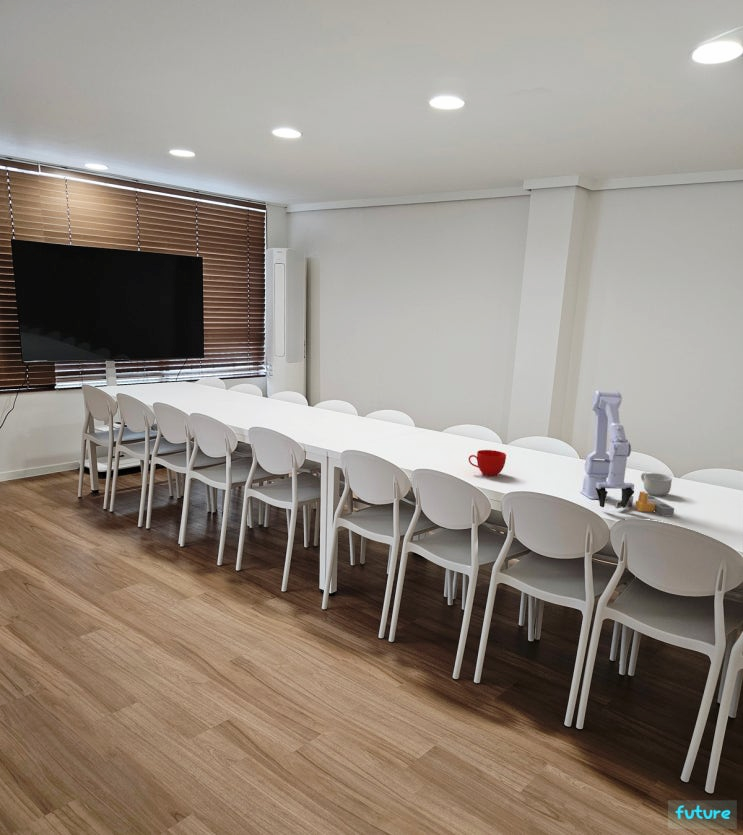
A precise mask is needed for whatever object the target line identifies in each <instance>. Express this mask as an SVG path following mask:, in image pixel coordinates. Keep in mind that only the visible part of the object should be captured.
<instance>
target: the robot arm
mask: <svg viewBox="0 0 743 835" xmlns="http://www.w3.org/2000/svg"><path fill="white" fill-rule="evenodd" d="M622 398H623V397H622V394H621V392H620V391H608V390H595V391H594V392H593V395H592V401H591V410H592V411H594V412H595V418H594V437H593V438H594V439H593V451H592V452H591V453H589V454H588V455H587V456H586V457H585V458H586V459H585V462H584V471H585V476H584V477H583V483H582V490H580V491H579V492H580V493H581V494H583V495H584V496H586V497H587V498H588V499H590V500H598V501H599V506H600V507H601V508H605V505H606V504H605V503H606V500H609V497H608V496H607V495H608V491H607V490H606V489H613V490H615V489H619V490H620V489H621V500H620V501H621V506H622V507H621V508H626V507H627V506H628V505H627V502H628V500H629V499H630V497H631V496H633V495H634V493H635V490H634V489H635V484H634V483H632V482H625V476H626V467H627V460H628V458H629V457H630V455H631V452H632V445H631V443H630V441H629V440H628V439H627V438H626V437H627V436H626V433H625V429H624V428H625V427H624V426H623V425H622V424H621V423H620V414H619V413H620V412H619V409H620V407H621V403H622ZM608 425H609V426H608ZM608 438H609V447H608V450H609V451H608V452H609V453H607V444H608ZM626 505H627V506H626Z"/></svg>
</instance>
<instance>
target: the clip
mask: <svg viewBox="0 0 743 835" xmlns="http://www.w3.org/2000/svg"><path fill="white" fill-rule="evenodd" d="M633 503H634V496H633V495H632V496H631V497H630V499H629V500H628V502H627V505H626V507H627V506H628V507H630V508H632V507H633V505H634V504H633ZM614 508H615V509H620V508H623V507H622V506H621V500H619V501H616V502H615V506H614Z"/></svg>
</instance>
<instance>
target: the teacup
mask: <svg viewBox="0 0 743 835" xmlns="http://www.w3.org/2000/svg"><path fill="white" fill-rule="evenodd" d="M640 479H641V481H642V482H643V490H644V491H645V492H646V493H647V494H648V495H651V496H654V495H655V497H664V496H666V495H668V494H669V493H670V491H671V488H672V480H673V477H671V476H669V475H667V474H664V473H659V472H658V473H656V472H651V473H649V472H642V473H641V474H640Z"/></svg>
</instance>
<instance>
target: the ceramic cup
mask: <svg viewBox="0 0 743 835" xmlns="http://www.w3.org/2000/svg"><path fill="white" fill-rule="evenodd" d="M472 458H475V460H476V461H477V462H476V463H477V464H474V463H473V462H472V461H471V459H472ZM506 460H507V454H506V452H502V451H499V450H492V449H481V450H478V451H477V452H476V455H475V454H470V455H469V456H468V462H469V464H470V465H472V466H473V467H475V468H478V469H479V471H480V472H481V474H482V475H484V476H485V475H487V476H486V477H491V476H494V477H497V476H498V475H499V474H500V473H502V471H503V469H504V467H505V464H506Z"/></svg>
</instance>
